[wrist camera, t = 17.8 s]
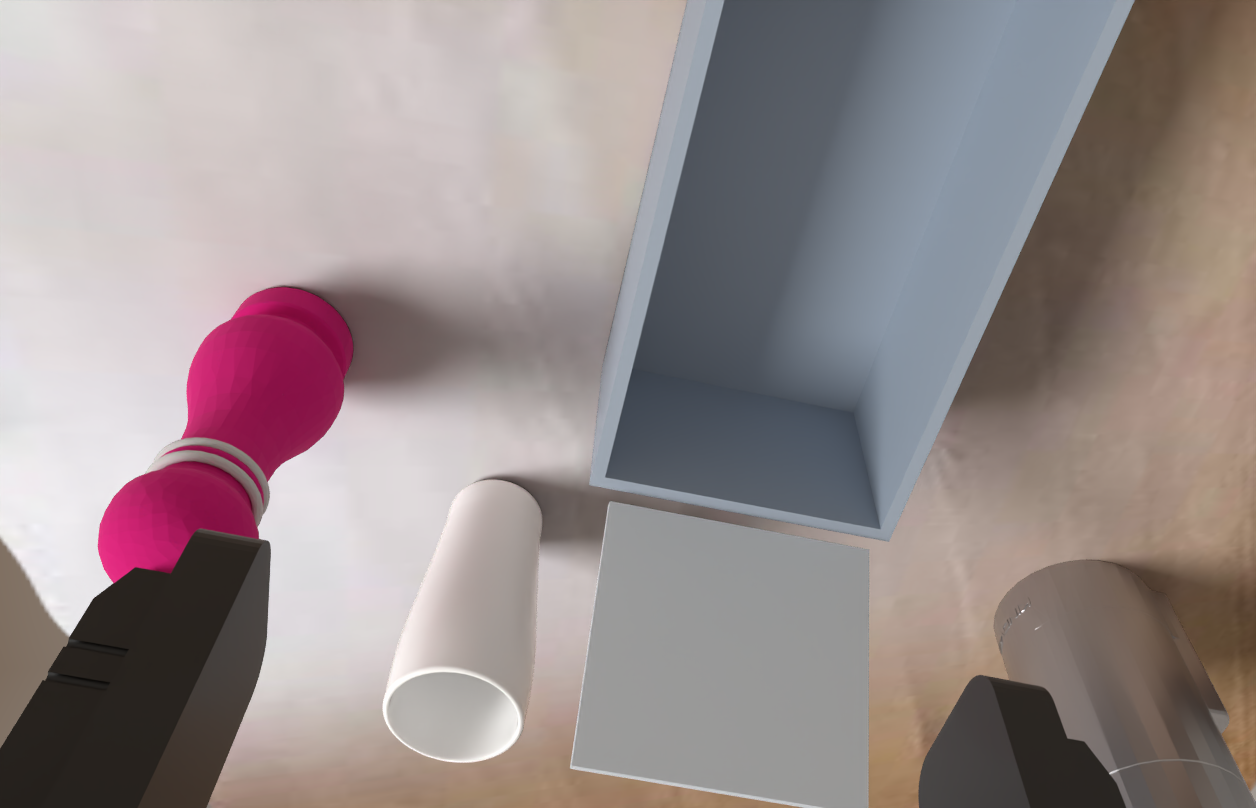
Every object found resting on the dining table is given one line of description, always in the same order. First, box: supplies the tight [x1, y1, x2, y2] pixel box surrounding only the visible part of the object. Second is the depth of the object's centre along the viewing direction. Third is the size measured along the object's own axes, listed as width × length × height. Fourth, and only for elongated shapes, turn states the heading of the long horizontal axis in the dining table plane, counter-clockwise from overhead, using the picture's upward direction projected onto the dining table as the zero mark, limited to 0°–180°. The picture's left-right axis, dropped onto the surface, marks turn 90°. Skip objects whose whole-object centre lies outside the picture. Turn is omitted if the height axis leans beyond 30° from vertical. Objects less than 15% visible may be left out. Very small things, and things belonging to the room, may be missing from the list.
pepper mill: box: [98, 287, 353, 583], centre depth 49 cm, size 7×7×20 cm
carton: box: [589, 0, 1135, 542], centre depth 47 cm, size 14×26×10 cm, turn 168°
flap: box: [570, 501, 869, 808], centre depth 47 cm, size 12×12×1 cm
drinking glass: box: [383, 480, 542, 763], centre depth 57 cm, size 7×7×15 cm
